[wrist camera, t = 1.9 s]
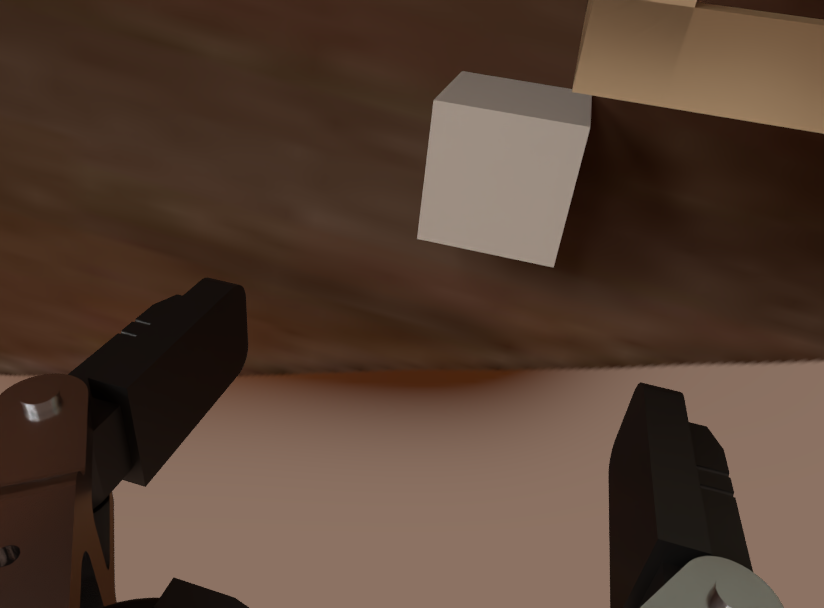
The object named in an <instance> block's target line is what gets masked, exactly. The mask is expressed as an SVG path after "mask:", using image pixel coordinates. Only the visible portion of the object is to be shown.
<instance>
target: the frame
mask: <svg viewBox="0 0 824 608" xmlns="http://www.w3.org/2000/svg"><path fill="white" fill-rule="evenodd" d="M572 92H575V93H581V94H587V95H593V96H599V97H605V98H611V99H617V100H623V101H629V102H635V103H641V104H647V105H653V106H659V107H665V108H672V109H678V110H684V111H690V112H696V113H702V114H708V115H714V116H720V117H726V118H732V119H738V120H744V121H750V122H756V123H762V124H768V125H774V126H780V127H786V128H792V129H798V130H805V131H811V132H817V133H823V134H824V20H823V19H815V18H808V17H801V16H794V15H786V14H779V13H772V12H764V11H757V10H750V9H743V8H735V7H728V6H721V5H713V4H706V3H699V2H697V0H589V1H588V6H587V10H586V14H585V20H584V26H583V31H582V37H581V42H580V48H579V54H578V59H577V65H576V71H575V76H574V82H573V88H572Z"/></svg>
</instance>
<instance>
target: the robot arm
mask: <svg viewBox="0 0 824 608" xmlns="http://www.w3.org/2000/svg"><path fill="white" fill-rule="evenodd" d="M247 352H248V333H247V312H246V295H245V290H244V288H243V287H242V286H241V285H237V284H233V283H228V282H224V281H220V280H216V279H212V278H204V279H202V280H201V281H200V282H198V283H197V284H196V285H195V286H194V287H193V288H191V289H190V290H189V291H188V292H187V293H186V294H184V295H183V296H181V295H175V296H172V297H170V298H168V299H165V300H163V301H161V302H158V303H156V304H154V305H152V306H151V307H150V308H148V309H147V310H146V311H145V312H144V313H142V314H141V315H140V316H139V317H137V318H136V321H135V322H131V323H130V324H129V325H128V326H127V327H125V328H124V329H123V330H122V332H121V334H117V335H116V336H114V337H113V338H112V339H111V340H109V341H108V342H107V343H106V344H105V345H103V346H102V347H101V348H100V349H98V350H97V351H96V352H95V353H94V354H92V355H91V356H90V357H89V358H87V359H86V360H85V361H84V362H83V363H81V364H80V365H79V366H78V367H76V368H75V369H74V370H73V371H72V372H70V373H69V374H68V375H67V374H44V375H39V376H35V377H31V378H28V379H25V380H23V381H20V382H18V383H16V384H14V385H13V386H11V387H9V388H8V389H6V390H5V391H4V392H3V393H2V394H1V395H0V608H249V607H247V606H246V605H244V604H243V603H242V602H240V601H239V600H237V599H236V598H234V597H231V596H228V595H225V594H222V593H219V592H216V591H213V590H209V589H207V588H204V587H201V586H198V585H195V584H191V583H189V582H185V581H183V580H180V579H176V578H173V579H172V581H171V582H170V584H169V585H168V587H167V588H166V590H165V591H164V593H163V594H162V596H161V597H160V598H143V599H133V600H128V601H123V602H116V595H115V573H114V572H115V570H114V499H113V494H112V491H113V490H114V488H115V487H116V486H117V485H118V484H119V483H120V481H122V480H125V481H128V482H132V483H135V484H138V485H141V486H145V487H146V485H147V484H148V483H149V482H150V481H151V479H152V478H153V477H154V476H155V475H156V473H157V472H158V471H159V470H160V469H161V467H162V466H163V465H164V464H165V463H166V461H167V460H168V459H169V458H170V457H171V455H172V454H173V453H174V452H175V451H176V449H177V448H178V447H179V446H180V445H181V443H182V442H183V441H184V440H185V438H186V437H187V436H188V435H189V434H190V432H191V431H192V430H193V429H194V428H195V426H196V425H197V424H198V423H199V422H200V420H201V419H202V418H203V417H204V416H205V414H206V413H207V412H208V411H209V410H210V408H211V407H212V406H213V405H214V403H215V402H216V401H217V400H218V398H220V396H221V395H222V394H223V393H224V391H225V390H226V389H227V388H228V387H229V385H230V384H231V383H232V382H233V381H234V379H235V378H236V377H237V376H238V374H239V373H240V372H241V370H242V368H243V366H244V363H245V360H246V357H247ZM733 494H734V491H733V487H732V483H731V479H730V478H729V470H728V466H727V461H726V457H725V453H724V450H723V448H722V447H721V446H720V444H719V443H718V441H717V440H716V439H715V437H714V436H713V435H712V433H711V432H710V430H709V429H708V428H707V427H706V426H702V425H698V424H694V423H690V422H688V417H687V411H686V406H685V400H684V396H683V394H682V393H681V392H678V391H673V390H670V389H665V388H661V387H657V386H653V385H649V384H645V383H639V384H638V386H637V387H636V389H635V391H634V394H633V396H632V399H631V401H630V404H629V406H628V409H627V411H626V414H625V416H624V419H623V422H622V424H621V427H620V430H619V432H618V434H617V437H616V439H615V442H614V445H613V449H612V453H611V458H610V464H609V533H610V534H609V536H610V537H609V538H610V608H784V607H783V605H782V603H781V602H780V600H779V598H778V597H777V595H776V594H775V593H774V592H773V590H772V589H771V588H770V587H769V586H768V585H767V584H766V583H765V582H764V581H763V580H762V579H761V578H760V577H759V576H757V575H756V574H754V573H753V570H752V566H751V562H750V558H749V554H748V549H747V546H746V541H745V537H744V533H743V529H742V524H741V520H740V516H739V512H738V507H737V503H736V500H735V498H734V497H733Z"/></svg>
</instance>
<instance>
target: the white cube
mask: <svg viewBox="0 0 824 608" xmlns="http://www.w3.org/2000/svg"><path fill="white" fill-rule="evenodd" d="M591 104H592V95H587V94H581V93H575V92H572V89H567V88H561V87H555V86H549V85H543V84H537V83H531V82H525V81H519V80H513V79H507V78H500V77H494V76H488V75H482V74H476V73H470V72H464V71H462V72H461V73H460V74H459V75H458V76H457V77H456V78H455V79H454V80H453V81H452V82H451V83H450V84H449V85H448V86H447V87H446V88H445V89H444V90H443V91H442V92H441V93H440V94H439V95H438V96H437V97H436V98H435V99H434V102H433V110H432V119H431V127H430V135H429V144H428V152H427V160H426V169H425V177H424V186H423V194H422V202H421V211H420V219H419V227H418V236H417V239H421V240H426V241H430V242H435V243H440V244H444V245H449V246H454V247H459V248H463V249H468V250H473V251H477V252H482V253H487V254H492V255H496V256H501V257H506V258H510V259H515V260H520V261H525V262H529V263H534V264H539V265H543V266H548V267H553V268H554V264H555V260H556V257H557V253H558V249H559V245H560V241H561V237H562V234H563V230H564V226H565V222H566V218H567V215H568V211H569V207H570V203H571V199H572V196H573V192H574V188H575V184H576V180H577V176H578V173H579V169H580V165H581V161H582V157H583V154H584V150H585V146H586V142H587V138H588V134H589V131H590V125H591Z"/></svg>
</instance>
